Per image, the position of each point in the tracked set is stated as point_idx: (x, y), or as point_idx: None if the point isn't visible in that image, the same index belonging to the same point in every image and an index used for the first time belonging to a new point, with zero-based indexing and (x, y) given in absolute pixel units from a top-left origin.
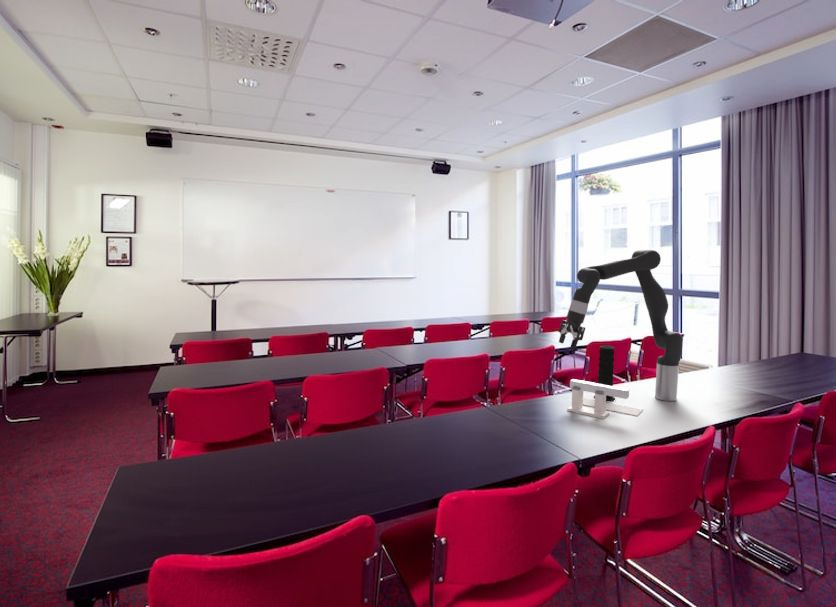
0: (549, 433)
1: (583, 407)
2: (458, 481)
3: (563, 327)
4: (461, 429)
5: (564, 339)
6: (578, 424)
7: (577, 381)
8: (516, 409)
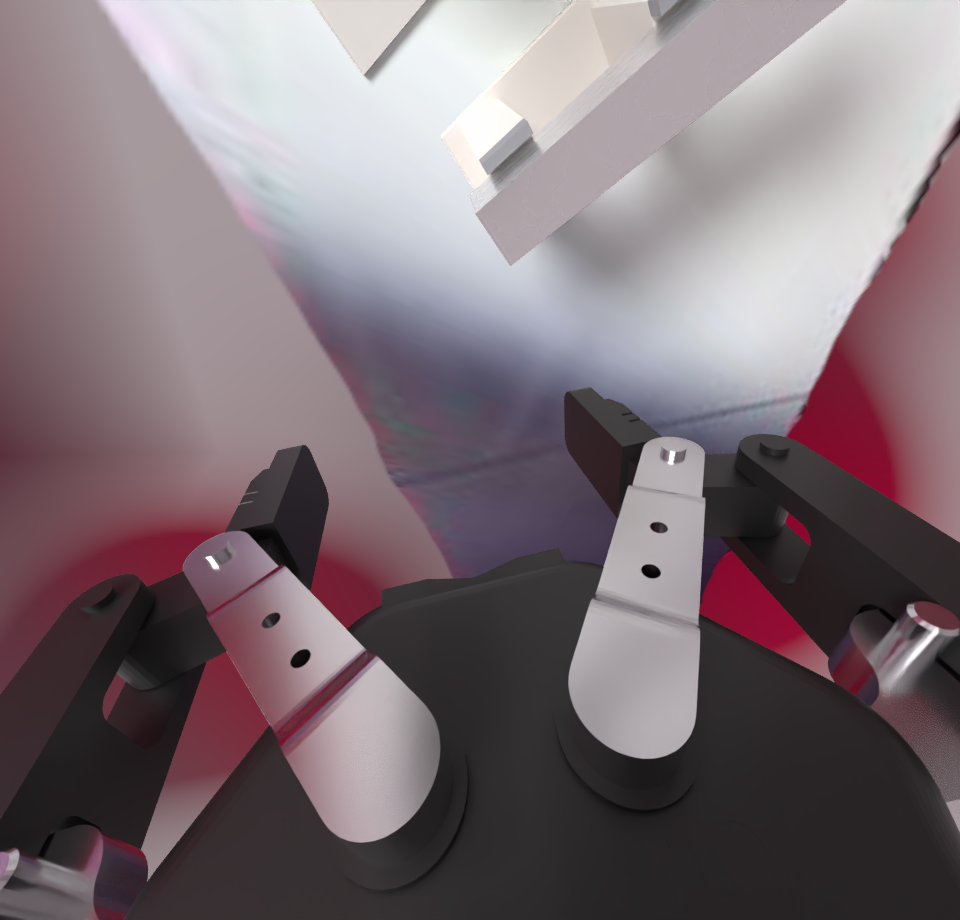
0: (654, 399)
1: (510, 101)
2: (704, 557)
3: (117, 752)
4: (537, 540)
5: (292, 479)
6: (652, 268)
7: (547, 217)
8: (432, 417)
